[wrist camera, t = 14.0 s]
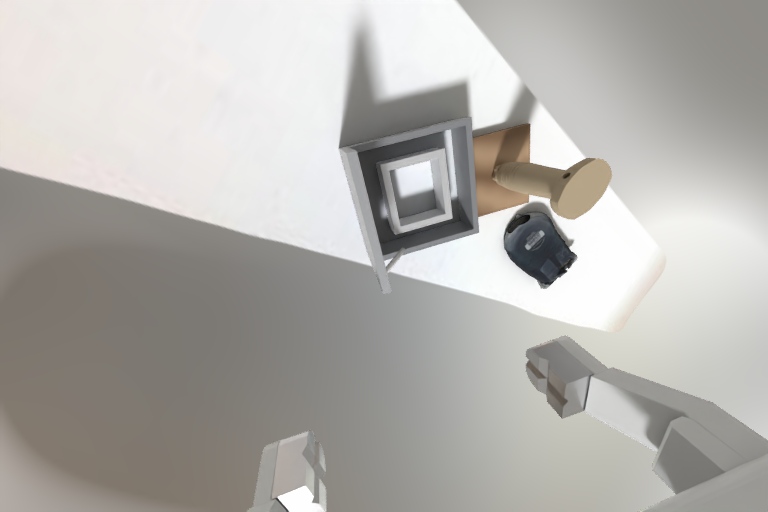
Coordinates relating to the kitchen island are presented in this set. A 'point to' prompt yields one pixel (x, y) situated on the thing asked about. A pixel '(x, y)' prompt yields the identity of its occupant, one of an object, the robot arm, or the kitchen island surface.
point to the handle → (558, 183)
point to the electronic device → (539, 249)
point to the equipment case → (443, 212)
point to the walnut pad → (494, 153)
